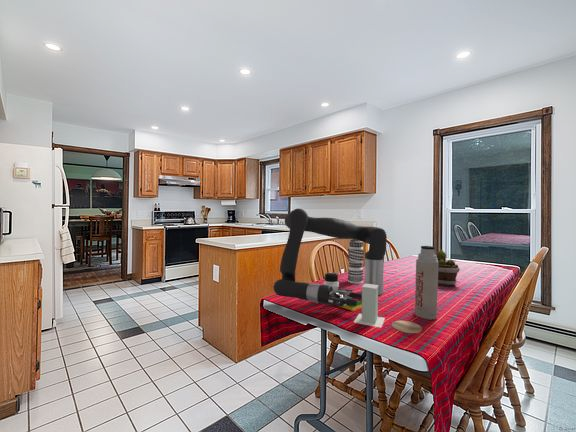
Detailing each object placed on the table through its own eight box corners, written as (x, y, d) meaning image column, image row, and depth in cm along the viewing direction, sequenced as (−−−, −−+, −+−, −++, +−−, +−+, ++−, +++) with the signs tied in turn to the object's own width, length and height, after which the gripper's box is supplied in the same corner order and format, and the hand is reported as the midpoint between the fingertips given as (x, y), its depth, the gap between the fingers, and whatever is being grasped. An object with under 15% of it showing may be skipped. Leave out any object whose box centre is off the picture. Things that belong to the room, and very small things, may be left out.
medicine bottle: (338, 301, 129) (338, 275, 129) (322, 300, 131) (323, 274, 130) (338, 296, 136) (339, 272, 136) (323, 295, 138) (324, 271, 137)
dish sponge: (336, 298, 132) (336, 293, 132) (362, 307, 122) (362, 302, 122) (326, 302, 127) (326, 296, 127) (352, 311, 117) (353, 305, 117)
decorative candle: (347, 283, 160) (348, 239, 160) (346, 279, 170) (347, 237, 169) (364, 284, 159) (365, 239, 158) (362, 280, 168) (363, 238, 167)
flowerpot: (465, 287, 154) (466, 251, 154) (437, 287, 155) (438, 251, 154) (450, 280, 169) (451, 247, 168) (424, 280, 169) (425, 247, 168)
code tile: (359, 314, 115) (359, 313, 115) (385, 318, 110) (385, 317, 110) (353, 323, 106) (353, 322, 106) (381, 328, 101) (381, 327, 101)
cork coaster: (393, 320, 109) (393, 318, 109) (422, 325, 104) (422, 323, 104) (390, 330, 100) (390, 328, 100) (421, 336, 95) (421, 334, 95)
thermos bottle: (421, 319, 110) (423, 247, 109) (410, 312, 117) (412, 244, 116) (441, 319, 110) (443, 247, 109) (429, 311, 118) (431, 244, 117)
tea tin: (364, 316, 111) (364, 283, 111) (377, 318, 109) (378, 285, 109) (361, 321, 107) (361, 286, 106) (375, 323, 104) (376, 288, 104)
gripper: (313, 288, 110) (355, 295, 103) (325, 280, 123) (363, 285, 116) (313, 308, 110) (354, 315, 103) (325, 297, 123) (363, 303, 116)
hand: (359, 299), depth 109 cm, fingers open, 8 cm apart
